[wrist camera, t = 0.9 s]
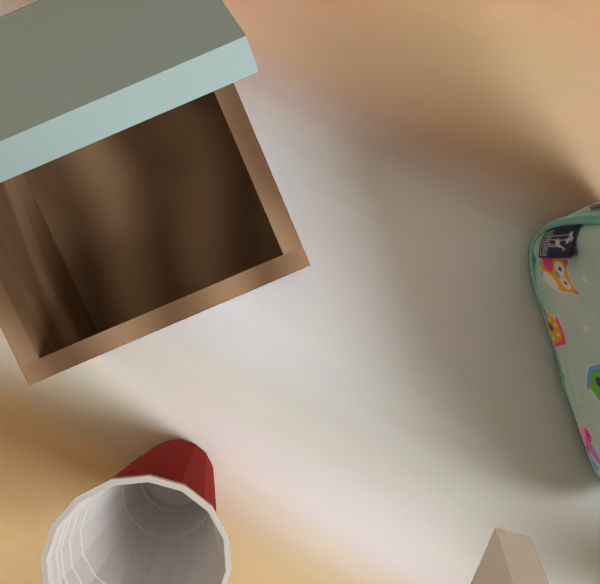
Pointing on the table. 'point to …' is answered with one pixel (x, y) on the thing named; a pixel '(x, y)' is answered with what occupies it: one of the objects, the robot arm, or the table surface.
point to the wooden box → (139, 234)
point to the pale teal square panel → (106, 70)
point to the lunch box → (573, 312)
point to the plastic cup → (143, 526)
